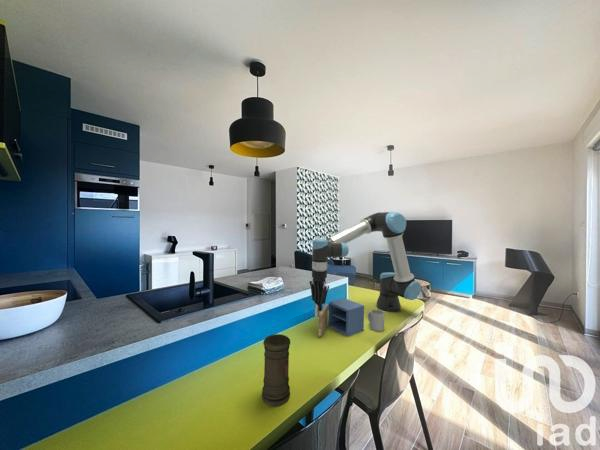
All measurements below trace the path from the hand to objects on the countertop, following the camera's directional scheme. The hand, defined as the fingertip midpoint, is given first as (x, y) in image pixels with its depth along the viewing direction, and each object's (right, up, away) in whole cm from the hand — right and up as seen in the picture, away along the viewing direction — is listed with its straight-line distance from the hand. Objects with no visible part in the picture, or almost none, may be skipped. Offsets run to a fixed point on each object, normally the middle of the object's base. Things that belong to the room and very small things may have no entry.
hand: (318, 316), depth 122 cm
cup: (+31, -9, +7) cm, 33 cm away
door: (+3, -7, 0) cm, 8 cm away
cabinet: (+15, -8, +5) cm, 18 cm away
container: (-17, -9, -45) cm, 49 cm away
